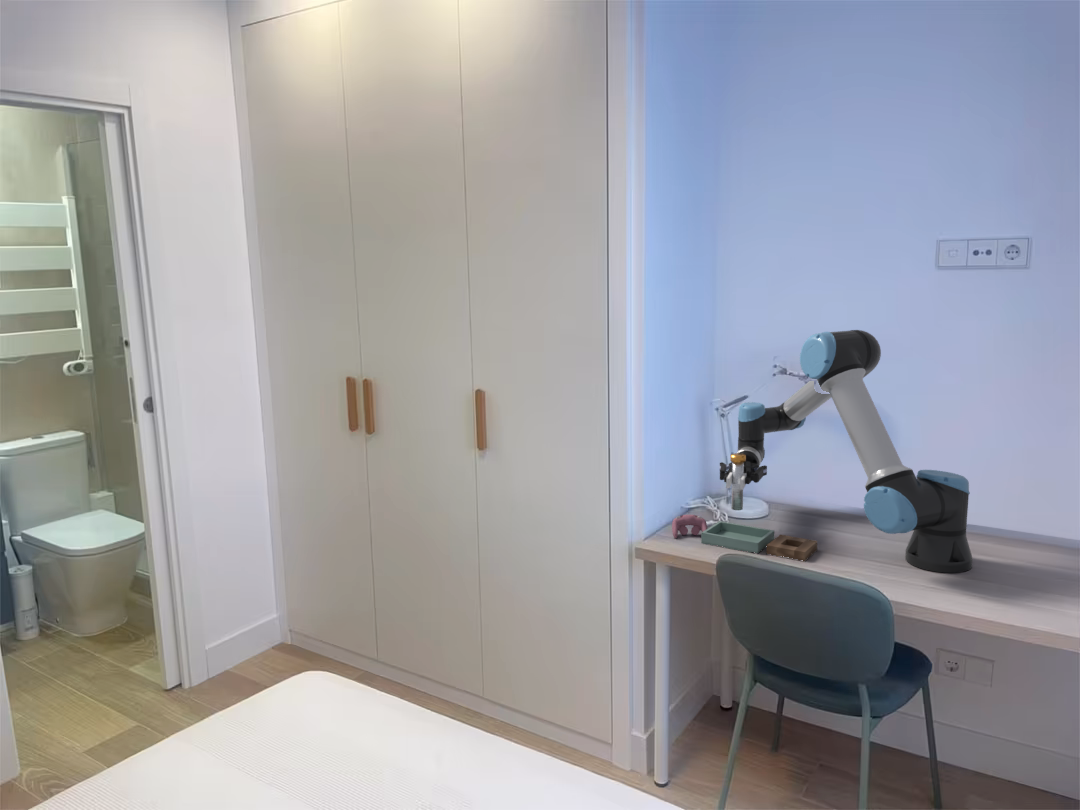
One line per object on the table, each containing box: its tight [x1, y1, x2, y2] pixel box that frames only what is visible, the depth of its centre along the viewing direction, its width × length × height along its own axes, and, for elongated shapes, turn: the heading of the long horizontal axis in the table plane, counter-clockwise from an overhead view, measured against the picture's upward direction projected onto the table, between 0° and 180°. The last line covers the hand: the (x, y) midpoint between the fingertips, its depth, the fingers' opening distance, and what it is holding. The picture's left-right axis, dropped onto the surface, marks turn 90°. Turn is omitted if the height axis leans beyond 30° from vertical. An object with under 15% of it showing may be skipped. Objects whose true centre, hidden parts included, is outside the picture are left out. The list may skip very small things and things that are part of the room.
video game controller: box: [671, 514, 709, 540], centre depth 231 cm, size 10×5×7 cm, turn 86°
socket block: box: [765, 534, 818, 562], centre depth 216 cm, size 10×10×2 cm
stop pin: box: [729, 452, 746, 511], centre depth 222 cm, size 4×4×15 cm
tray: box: [700, 520, 775, 554], centre depth 225 cm, size 16×12×3 cm
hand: (734, 483), depth 217 cm, fingers closed on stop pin, 3 cm apart
